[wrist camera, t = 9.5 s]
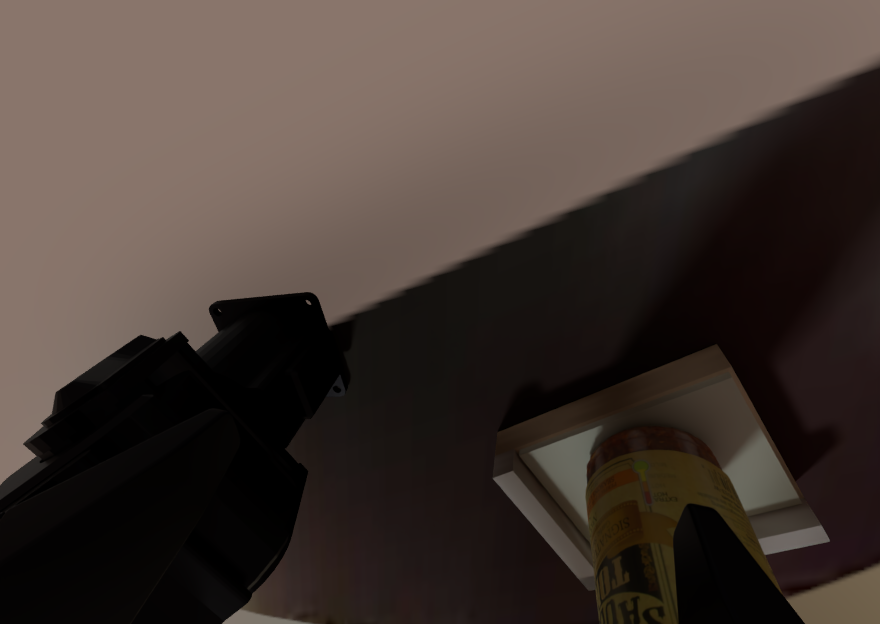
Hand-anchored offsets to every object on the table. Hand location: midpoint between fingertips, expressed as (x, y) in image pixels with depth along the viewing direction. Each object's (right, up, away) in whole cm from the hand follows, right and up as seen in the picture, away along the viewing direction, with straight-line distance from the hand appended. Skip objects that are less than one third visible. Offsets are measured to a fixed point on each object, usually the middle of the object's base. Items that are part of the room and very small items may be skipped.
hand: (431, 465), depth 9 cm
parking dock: (+11, -5, +16) cm, 20 cm away
